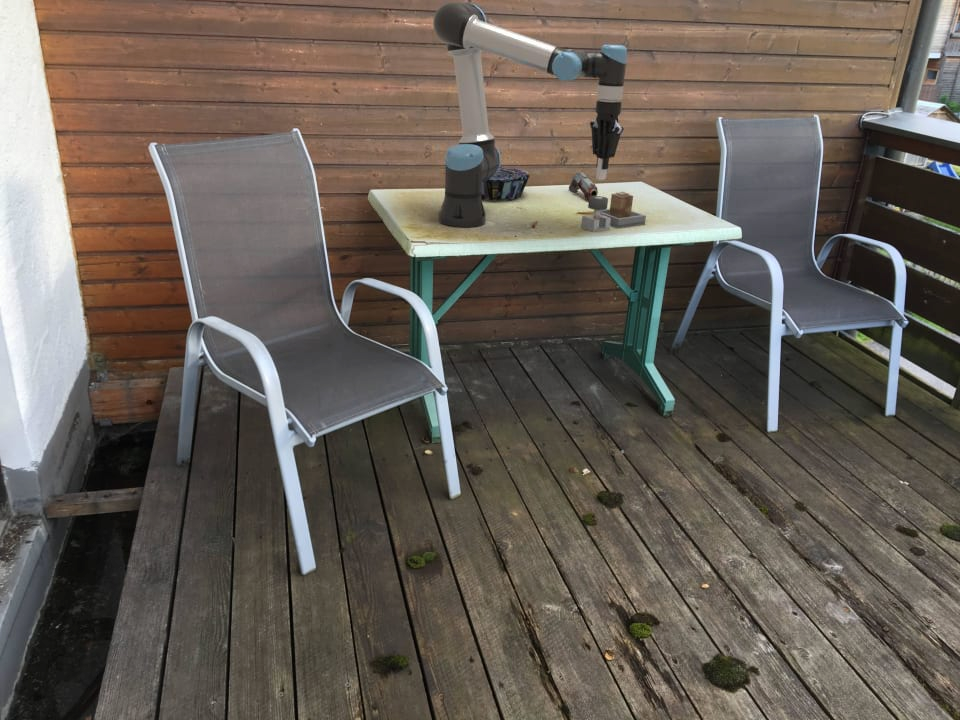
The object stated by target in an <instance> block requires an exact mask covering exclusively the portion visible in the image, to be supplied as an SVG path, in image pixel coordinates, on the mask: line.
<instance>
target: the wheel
mask: <svg viewBox="0 0 960 720" xmlns="http://www.w3.org/2000/svg"><path fill="white" fill-rule="evenodd" d="M608 202H609V198H607V197H605V196H600V195H599V196H598V195H597V196H591V197H589V201H588V204H587V205H588V206H587V207H588V209H591V210H593V216H592V217H595V218H599V217H600V210H606V209H608V204H609V203H608Z"/></svg>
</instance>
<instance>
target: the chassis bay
mask: <svg viewBox="0 0 960 720" xmlns="http://www.w3.org/2000/svg"><path fill="white" fill-rule="evenodd" d="M609 212H610V208H607V209H606V210H600V214H601V215H604V216H606V217H609V218H611V221H610V227H613V228H615V229H623V228H631V227H638V226H644V225H645V224H646V221H647V220H646V219H647V215H645V214H642V213H640V212H636V211H634V210H631V217H625V218H617V217H614V216H611V215H609Z"/></svg>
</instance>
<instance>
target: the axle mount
mask: <svg viewBox="0 0 960 720" xmlns="http://www.w3.org/2000/svg"><path fill="white" fill-rule="evenodd" d="M610 221H611V218H609V217H606V216H604V215H601V214H600V217H599V218H595V217H593V216H590V215H588V214H587V215H582V216H581V226H580V227H581V229H583V230H586V229H587V231H589V230H590V232H592V233H596V232H595V231H597V232H603V231H602V230H604V231H609V230H611V226H610Z"/></svg>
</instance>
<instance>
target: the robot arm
mask: <svg viewBox="0 0 960 720" xmlns="http://www.w3.org/2000/svg"><path fill="white" fill-rule="evenodd" d="M432 25H433V29H434V30H433V31H434V32H435V35H436V36H437V38H439V40H441V41H442V42H443V43H445V44H446V46H447V47H446V48H447V53H449V54H450V56H451V57H452V58H453V63H454V64H453V65H454V71H455V80H456V89H457V95H458V96H457V97H458V105H459V107H458V108H459V113H460V122H461V129H462V136H461V138H460V139H459V141H458V143H459V144H456V145H455V144H454V145H452V146H450V147H448V148H447V150H446V152H445V159H444V164H445V170H444V174H445V175H444V198H443V202H442V203H441V207H440V210H439V213H438V222H440V224H443V225H446V226H449V227H457V228H473V227H480V226H483V225H485V224H486V216H487V215H486V211H485V208H484V204H483V200H482V199H481V190H482V182H483V181H485V180H488V179H490V178H491V177H493V176H494V174H496V172H497V171H498V170H499V168H500V167H501V164H502V155H501V153H500V150H499V149H498V147H497V146H496V143H495V136H494V135H492V134H491V133H490V130H489V121H488V112H487V110H488V109H487V101H486V100H487V99H486V93H485V92H486V91H485V84H484V83H485V82H484V74H483V65H482V64H483V63H482V52H485V53H486V52H487V53H489V54H491V55H495V56H498V57H500V58H504V59H506V60H509V61H512V62H514V63H517V64H520V65H524V66H525V67H526V66H527V67H529V68H532V69H535V70H537V71H541V72H544V73H546V74H548V75H551V76H555V78H557V80H560V81H563V82H571V81H573V80H576V79H579V78H588V79H590V78H591V79H598V82H597V83H598V85H597V91H596V92H597V93H596V98H597V100H596V104H595V113H596V114H597V115H596V117H595V119H594V121H590V123H589V125H590V129H591V144H592V154H593V155H595V156H596V175H595V177H596V178H595V180H597V181H602V180H606V179H607V170H609V169H608V168H609V162H610V159H611V158H612V159H613V158H615V156H616V152H617V149H618V147H619V146H618V145H619V142H620V138H621V135H622V134H623V132H624V127H623V126H620V124H619V115H620V114H621V111H622V102H621V101H622V100H623V93H624V83H625V76H626V69H627V55H628V53H627V52H628V49H627V47H626V46H625V45H621V44H620V45H619V44H603V45H602V47H601V50H597V51H593V50H583V49H575V48H574V49H573V48H572V49H564V48H562V47H558V46H555V45H552V44H550V43H547V42H544V41H542V40H538V39H535V38H532V37H530V36H526V35H523V34H521V33H518V32H515V31H511V30H509V29H506V28H503V27H500V26H498V25H495V24H492V23H489V22H488V21H487V17H486V15H485V13H484V11H483V10H482V9H481V8H480V7H479V6H478V5H476V4H473V3H471V2H467V1H466V2H463V1H462V2H456V1H455V2H454V1H452V2H445V3H443V5H440V6H439V8H438V9H437V10H436V12H435V13H434V16H433V23H432Z"/></svg>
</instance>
